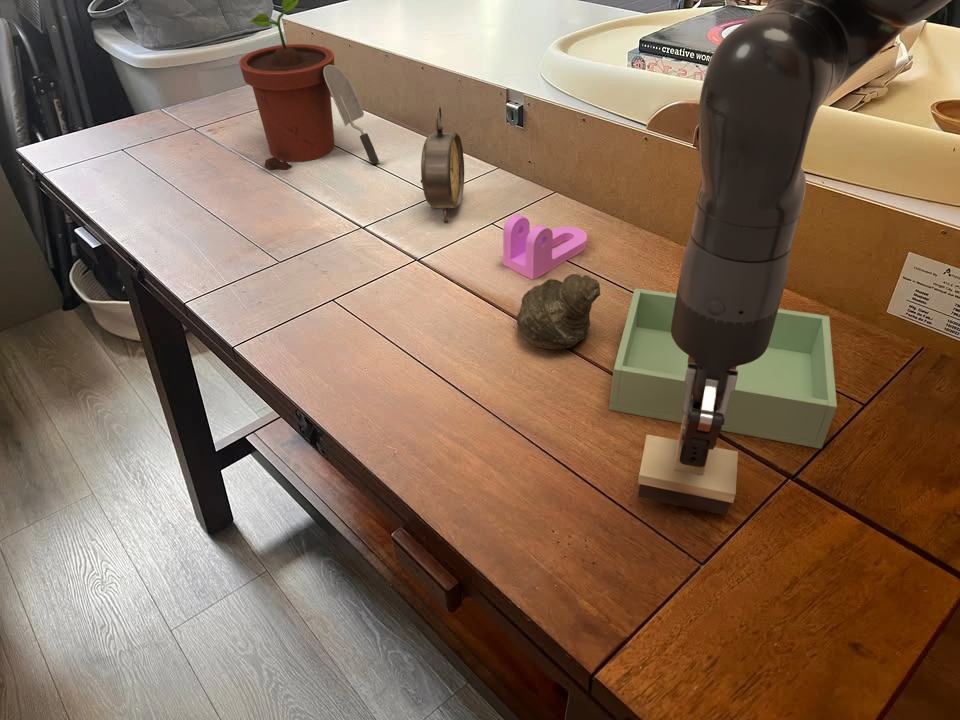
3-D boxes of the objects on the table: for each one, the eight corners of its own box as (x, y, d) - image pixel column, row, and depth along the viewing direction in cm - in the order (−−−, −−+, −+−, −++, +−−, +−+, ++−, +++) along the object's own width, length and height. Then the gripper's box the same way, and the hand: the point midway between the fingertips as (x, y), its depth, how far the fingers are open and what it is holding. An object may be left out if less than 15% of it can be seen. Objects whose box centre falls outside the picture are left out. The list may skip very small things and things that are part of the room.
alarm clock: (454, 227, 114) (449, 122, 104) (419, 225, 115) (410, 120, 104) (467, 194, 122) (463, 93, 112) (434, 192, 123) (427, 92, 113)
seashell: (570, 339, 82) (633, 302, 87) (509, 252, 84) (573, 221, 89) (531, 377, 92) (589, 342, 96) (477, 299, 94) (536, 269, 98)
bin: (816, 356, 88) (829, 315, 85) (821, 449, 77) (837, 407, 73) (629, 327, 94) (634, 287, 90) (608, 410, 82) (613, 368, 78)
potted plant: (337, 123, 147) (316, -18, 131) (380, 164, 132) (363, 10, 116) (246, 142, 140) (213, -4, 125) (281, 188, 125) (249, 29, 110)
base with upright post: (731, 474, 72) (753, 394, 66) (729, 517, 68) (752, 437, 62) (642, 457, 74) (655, 377, 68) (635, 498, 70) (648, 418, 64)
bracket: (532, 280, 102) (534, 234, 98) (503, 264, 105) (503, 220, 101) (594, 244, 109) (598, 200, 105) (564, 231, 112) (567, 187, 108)
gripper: (781, 353, 51) (732, 518, 62) (780, 250, 62) (739, 407, 73) (668, 335, 53) (640, 499, 64) (686, 238, 64) (659, 393, 74)
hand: (693, 449), depth 68 cm, fingers closed on base with upright post, 2 cm apart
